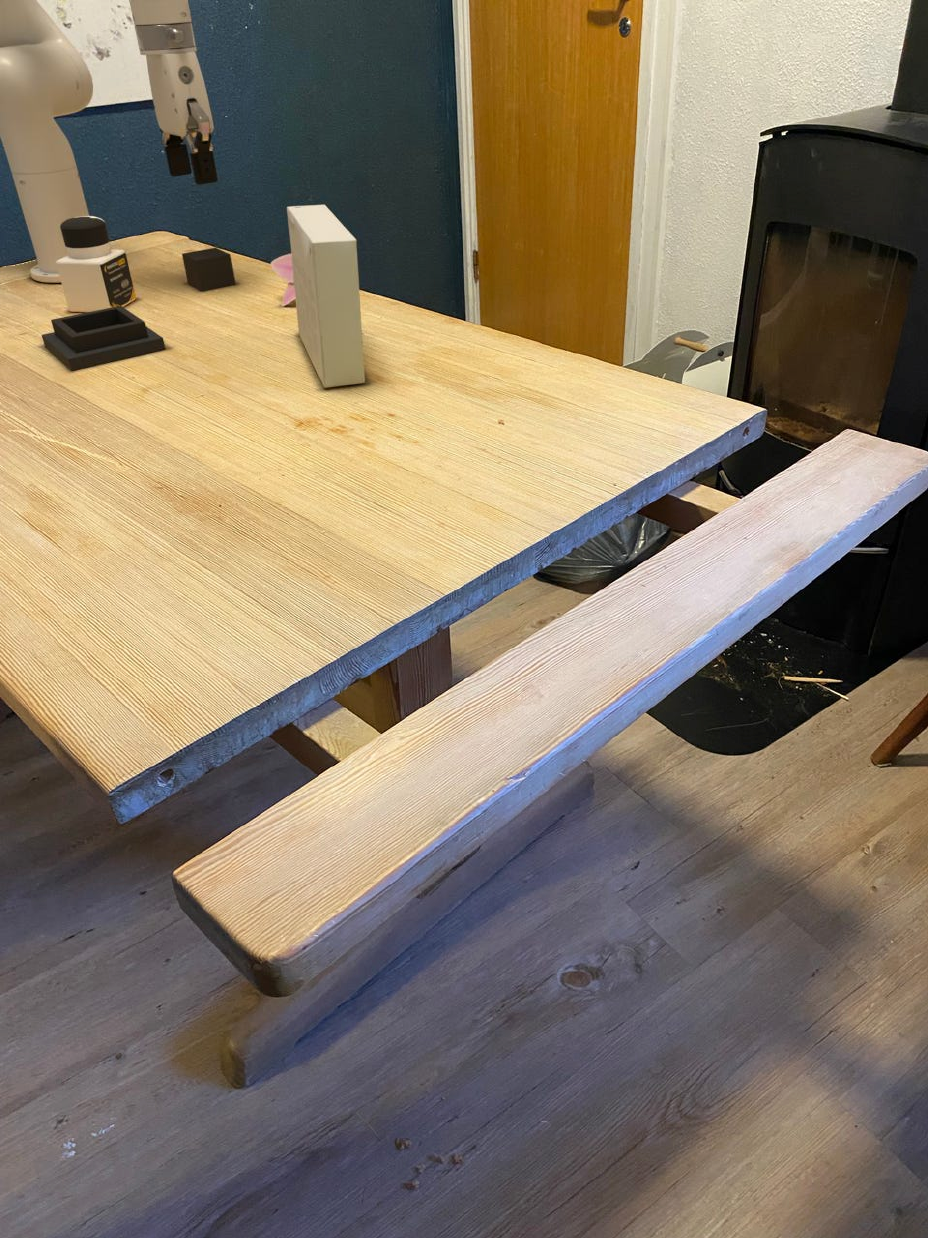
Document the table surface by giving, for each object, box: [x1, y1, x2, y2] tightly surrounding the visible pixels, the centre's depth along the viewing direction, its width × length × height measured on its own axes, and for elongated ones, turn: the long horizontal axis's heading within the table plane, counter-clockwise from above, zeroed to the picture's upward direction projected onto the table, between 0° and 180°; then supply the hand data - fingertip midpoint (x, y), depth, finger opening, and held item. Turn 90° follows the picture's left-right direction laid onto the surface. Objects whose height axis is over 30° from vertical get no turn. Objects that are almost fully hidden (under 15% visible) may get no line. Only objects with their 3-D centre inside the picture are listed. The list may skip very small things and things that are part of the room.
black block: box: [181, 247, 236, 292], centre depth 140 cm, size 6×6×4 cm
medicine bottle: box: [56, 215, 137, 313], centre depth 130 cm, size 7×7×12 cm
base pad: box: [41, 306, 166, 372], centre depth 117 cm, size 12×12×4 cm
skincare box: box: [286, 204, 366, 388], centre depth 107 cm, size 21×5×16 cm, turn 17°
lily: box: [269, 253, 296, 307], centre depth 129 cm, size 12×12×10 cm
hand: (193, 178), depth 132 cm, fingers open, 9 cm apart
